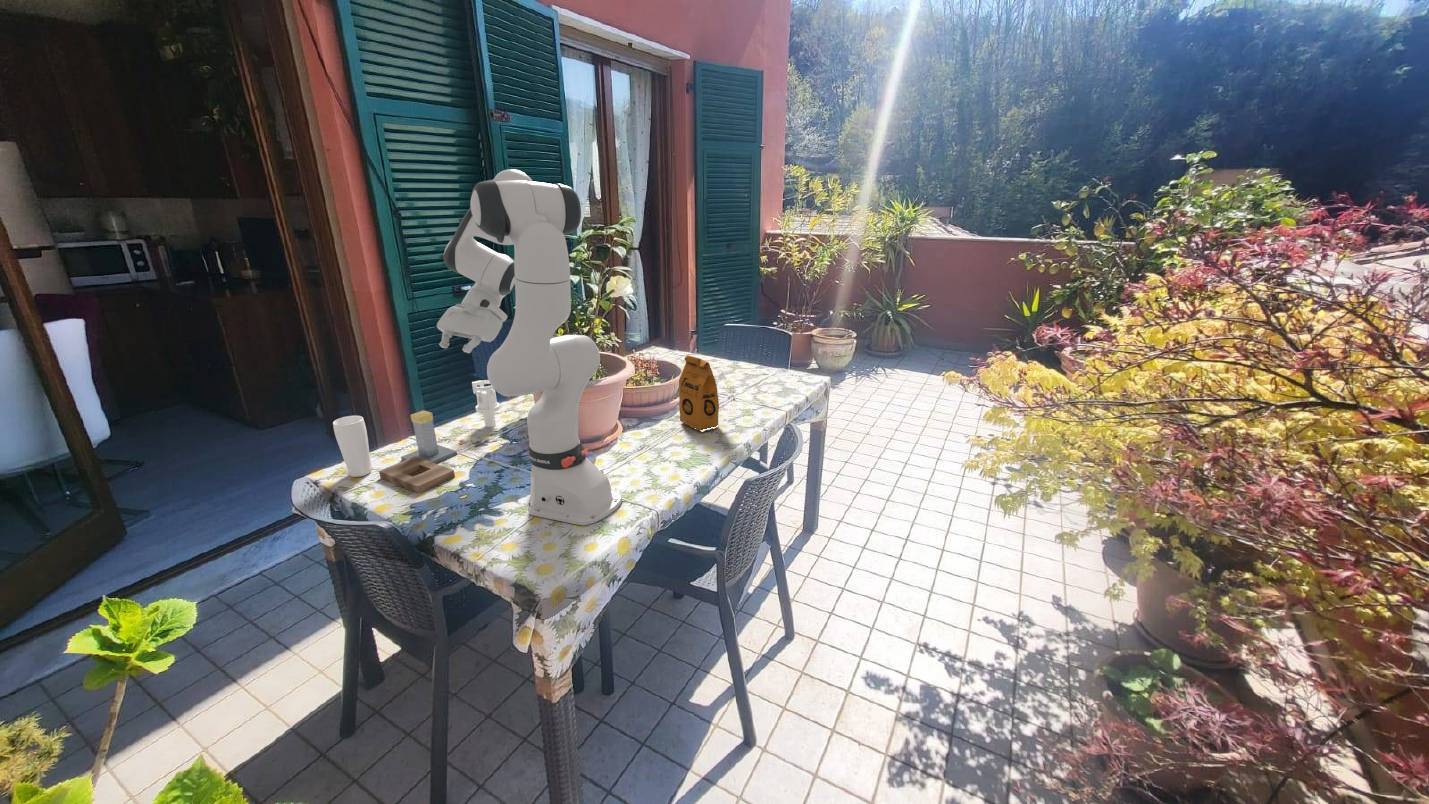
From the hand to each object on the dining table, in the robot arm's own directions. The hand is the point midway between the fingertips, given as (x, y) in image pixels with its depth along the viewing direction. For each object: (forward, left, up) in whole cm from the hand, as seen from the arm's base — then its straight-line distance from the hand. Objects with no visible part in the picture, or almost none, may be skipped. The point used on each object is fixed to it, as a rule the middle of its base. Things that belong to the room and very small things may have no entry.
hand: (454, 349), depth 152 cm
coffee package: (-48, -48, -30) cm, 74 cm away
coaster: (+5, +9, -29) cm, 31 cm away
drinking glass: (+12, +24, -30) cm, 40 cm away
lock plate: (-3, +18, -29) cm, 35 cm away
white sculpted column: (+9, -15, -30) cm, 34 cm away
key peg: (+5, +9, -28) cm, 30 cm away
